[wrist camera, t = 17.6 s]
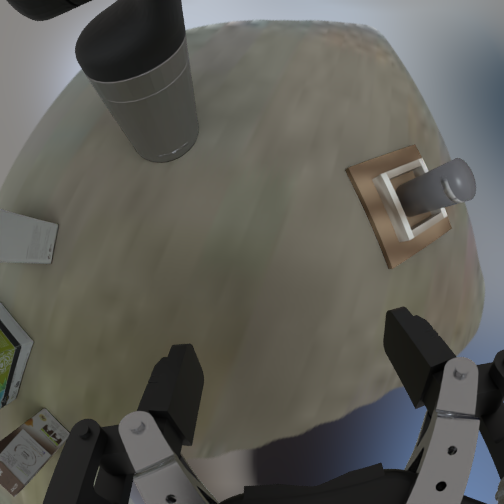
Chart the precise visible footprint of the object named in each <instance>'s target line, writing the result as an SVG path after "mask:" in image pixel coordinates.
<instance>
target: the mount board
mask: <svg viewBox="0 0 504 504" xmlns="http://www.w3.org/2000/svg"><path fill="white" fill-rule="evenodd" d="M345 171H346V173H347V175H348V177H349V179H350V181H351V183H352V185H353V187H354V189H355V191H356V193H357V195H358V197H359V199H360V201H361V203H362V205H363V208H364V210H365V212H366V214H367V217H368V219H369V221H370V223H371V226H372V228H373V230H374V233H375V235H376V237H377V240H378V242H379V245H380V247H381V250H382V252H383V255H384V258H385V260H386V263H387V265H388V268H389V269H393V268H394V267H396V266H397V265H399V264H401V263H402V262H404V261H405V260H407V259H408V258H410V257H411V256H413V255H414V254H416V253H417V252H419V251H420V250H422V249H423V248H425V247H426V246H428V245H429V244H431V243H432V242H433V241H435V240H436V239H438V238H439V237H441V236H442V235H443V234H445V233H446V232H448V231H449V230H450V229H452V227H451V225H450V222H449V219H448V216H447V213H446V210H445V208H441V209H437V210H434V211H430V212H427V213H423V214H420V215H416V216H413V217H408V216H406V215H405V213H404V210H403V208H402V206H401V204H400V201H399V199H398V197H397V195H396V189H397V187H398V186H399V185H401V184H403V183H405V182H407V181H410V180H412V179H414V178H416V177H418V176H420V175H422V174H424V173H426V172H428V169H427V167H426V164H425V162H424V160H423V158H422V157H421V155H420V153H419V151H418V149H417V147H416V145H412V146H409V147H406V148H403V149H400V150H397V151H394V152H391V153H388V154H385V155H382V156H379V157H376V158H374V159H371V160H368V161H365V162H362V163H360V164H357V165H354V166H351V167H349V168H347V169H346V170H345Z"/></svg>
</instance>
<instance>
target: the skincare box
mask: <svg viewBox="0 0 504 504" xmlns="http://www.w3.org/2000/svg"><path fill="white" fill-rule="evenodd" d="M57 230H58V224H55V223H51V222H47V221H43V220H39V219H35V218H32V217H28V216H24V215H21V214H17V213H14V212H10V211H7V210H3V209H0V262H8V263H39V264H51V260H52V254H53V248H54V244H55V240H56V235H57Z"/></svg>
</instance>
